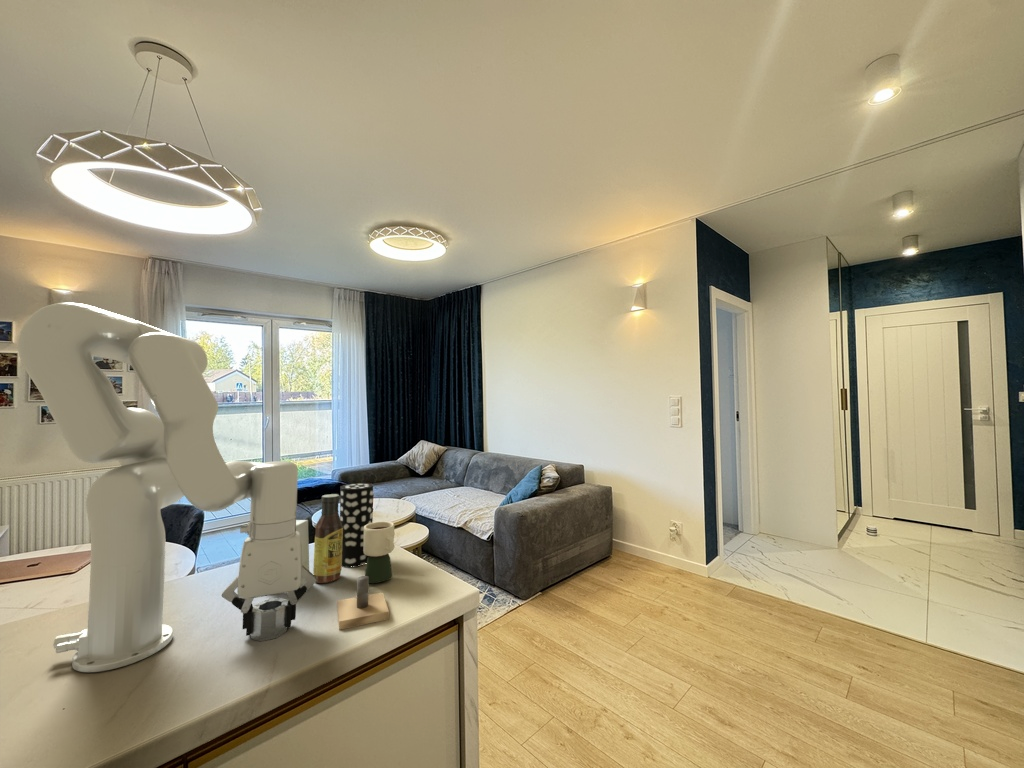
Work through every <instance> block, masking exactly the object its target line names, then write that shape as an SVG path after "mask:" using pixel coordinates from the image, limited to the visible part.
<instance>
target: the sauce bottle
mask: <svg viewBox="0 0 1024 768" xmlns="http://www.w3.org/2000/svg"><path fill="white" fill-rule="evenodd" d="M339 504H340V494H339V493H331V494H324V495H322V496H321V515H320V517H319V519H318V521H317V522H316V525H315V535H314V545H313V546H314V549H313V550H314V551H313V552H314V553H313V573H312V574H313V575H314V576H315V577H316V582H315V583H317V584H318V583H319V584H328V583H332V582H334V581H337V580H339V578H340V577H341V572H342V567H343V566H342V541H343V526H342V523H341V520H340V510H339Z"/></svg>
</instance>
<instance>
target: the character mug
mask: <svg viewBox="0 0 1024 768" xmlns="http://www.w3.org/2000/svg"><path fill="white" fill-rule="evenodd" d="M395 535H396V533H395V523H394V522H392V521H374V522H373V523H370V524H367V525H365V526H364V547H363V552H364V554H365V555H367V556H369V557H368V559H367V564H366V565H365V571H364V576H368V577H369V584H375V583H383V582H384V581H388V580H390V579H392V578H393V571H392V570H393V569H392V562H391V556H390V554H391V553H392V552H393V551H394V549H395V544H394V543H395V540H394V539H395ZM382 581H383V582H382Z"/></svg>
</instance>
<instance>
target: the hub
mask: <svg viewBox="0 0 1024 768" xmlns="http://www.w3.org/2000/svg"><path fill="white" fill-rule="evenodd" d="M288 601H289V599H288V598H287V599H285V598H281V597H276V598H275V597H274V598H269V599H264V600H262V601H260V602H259V603H258V602H257V603H256V604H254V605H253V610H252V623H251V634H250V640H254V641H258V642H264V641H270V640H273V639H277V638H279V637H280V636H281V635H283V634H286V632H287V630H288V628H287V627H286V621H287V604H288Z"/></svg>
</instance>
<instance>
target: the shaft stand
mask: <svg viewBox="0 0 1024 768" xmlns="http://www.w3.org/2000/svg"><path fill="white" fill-rule="evenodd" d="M369 584H370V583H369V577H368V576H365V575H361V576H358V577H357V579H356V597H351V598H345V599H339V600H337V603H336V604H337V605H336V607H337V609H336V612H337V620H338V621H337V622H338V630H339V631H340V630H345V629H349V628H353V627H358V626H359V627H360V626H363V625H369V624H372V623H377V622H382V621H387V620H389V619H390V610H389V608H388V607H389V606H388V604H387V602H386V600H385V596H384V593H383V592H378V593H373V594H369V586H370V585H369Z"/></svg>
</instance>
